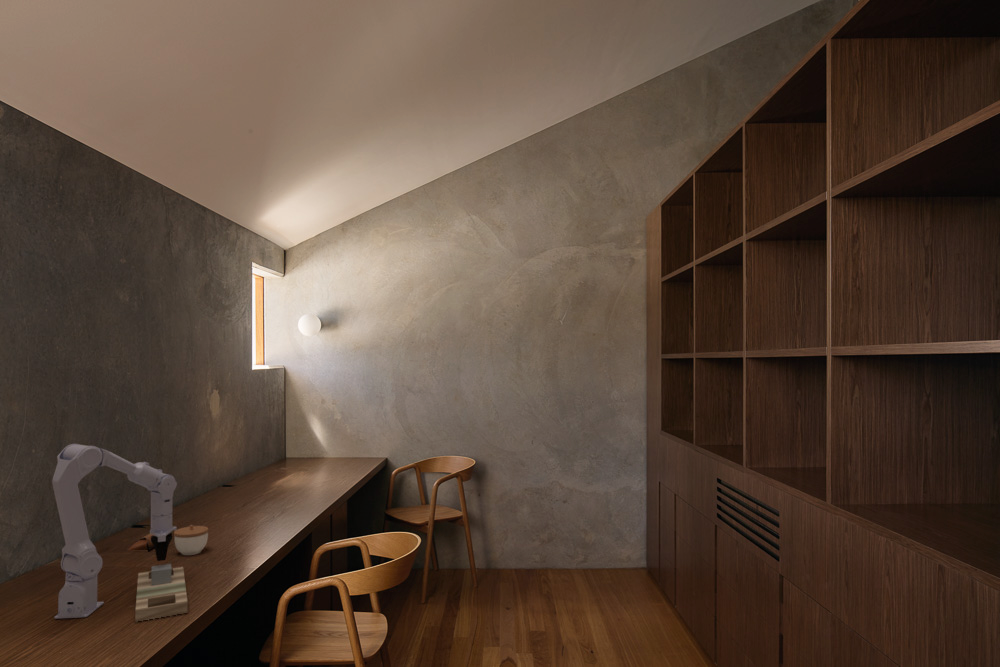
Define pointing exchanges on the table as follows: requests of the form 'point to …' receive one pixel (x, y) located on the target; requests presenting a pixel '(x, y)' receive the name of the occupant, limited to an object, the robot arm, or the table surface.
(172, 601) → the trap deck
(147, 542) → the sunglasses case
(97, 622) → the table surface
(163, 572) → the block
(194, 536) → the lidded jar
